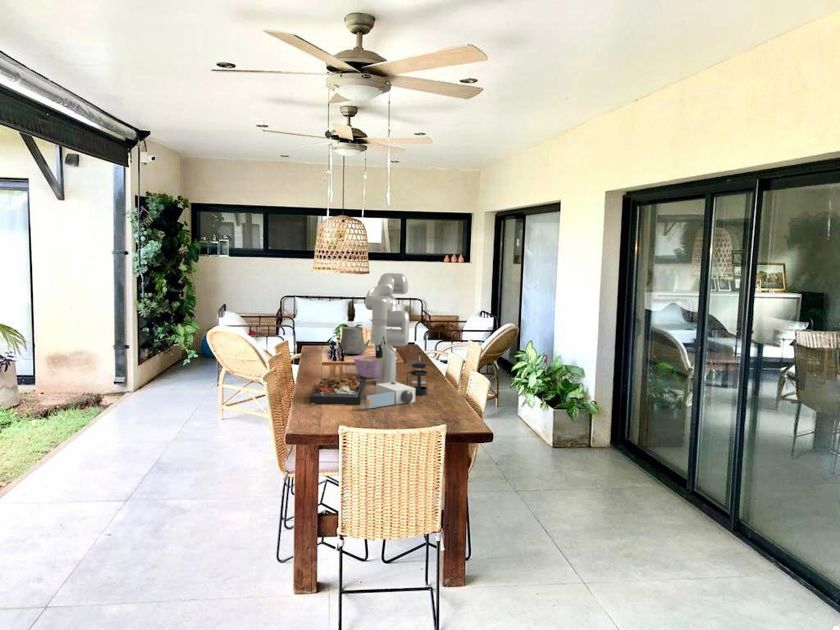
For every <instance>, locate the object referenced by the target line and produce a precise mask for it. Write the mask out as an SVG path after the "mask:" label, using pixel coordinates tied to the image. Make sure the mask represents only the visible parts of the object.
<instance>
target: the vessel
mask: <svg viewBox="0 0 840 630" xmlns="http://www.w3.org/2000/svg"><path fill="white" fill-rule="evenodd" d="M363 329H364V328H363V327H361V326H344V327H343V326H342V335H341V340H340V342H339V346H341V347H342V349H343V351H344V353H345V354H344V355H347V354H360V355H362V354H364V352H366V350H367V348H368V346H369V344H370V343H371V339H368V340H367V342H366V343H365V340H364V336H363ZM361 353H362V354H361Z"/></svg>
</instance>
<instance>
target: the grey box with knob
mask: <svg viewBox="0 0 840 630" xmlns="http://www.w3.org/2000/svg"><path fill="white" fill-rule="evenodd" d="M397 382H398V381H397ZM397 382H390V383H382V384H376V383H375V386H376V387H375V395H376V394H383V393H389V392H395V391H396V392H397V394H396V404H394V406H396V405H402V404H410V403H415V402H416V396H415V388H413V386H411V385H408V386H407V384H403V383H400V382H398V383H397Z"/></svg>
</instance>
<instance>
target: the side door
mask: <svg viewBox="0 0 840 630" xmlns="http://www.w3.org/2000/svg"><path fill="white" fill-rule="evenodd" d="M396 394H397V392H396V391H395V392H389V393H383V394H376V393H375V394H370V395H366V399H365V400H366V401H365V403H366V407H365V409H373V408H380V407H385V406H387V407H388V406H392V405H393V406H394V405H395V404H396ZM396 405H397V404H396Z"/></svg>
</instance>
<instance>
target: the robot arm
mask: <svg viewBox="0 0 840 630" xmlns="http://www.w3.org/2000/svg"><path fill="white" fill-rule="evenodd" d="M408 291H409V282H408V280H407V276H406V275H405V274H404V273H398V272H396V273H394V272H386V273H383V274H382V275H380V279H379V280H378V282H377V286H374V287H372V288H371V289H369V290H368V291H367V293H366V296H365V299H364V306H365V309H366V310H368V311H371V332H370V335H371V336H370V343H371V344H373V345H374V347H375V349H374V350H375V355H374V356H375V357H376V358H379V375H378V376H377V378H376V379H378V380H376V381H375V385H376V384H382V383H390V382H397V383H399V381H398V380H396V368H397V367H396V364H397V362H396V361H397V359H396V358H397V357H396V356H397V355H396V354H397V353H396V351H395V349H394V347H407V345H408V344H409V341H410V337H409V336H410V314H409V312H408V311H406V310H399V309H398V301H397V298H396V297H395V296H394V295H405V294H407V293H408ZM387 327H391V328H387ZM398 328H400V329H398Z"/></svg>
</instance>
